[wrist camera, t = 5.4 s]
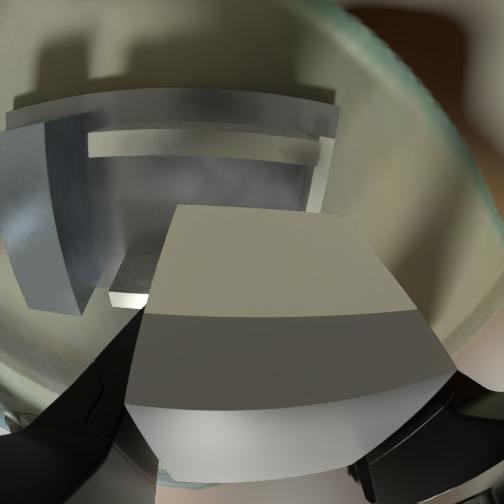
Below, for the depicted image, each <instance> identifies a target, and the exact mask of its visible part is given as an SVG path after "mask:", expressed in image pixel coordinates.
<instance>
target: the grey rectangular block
mask: <svg viewBox="0 0 504 504" xmlns="http://www.w3.org/2000/svg"><path fill="white" fill-rule="evenodd" d="M456 370H457V367H456V366H455V364H454V362H453V361H452V359H451V357H450V356H449V354H448V353H447V351H446V350H445V348H444V347H443V345H442V343H441V342H440V340H439V339H438V337H437V336H436V334H435V333H434V331H433V330H432V329H431V327H430V326H429V324H428V323H427V321H426V320H425V318H424V317H423V316H422V314H421V313H420V311H419V310H418V309H417V307H416V306H415V304H414V303H413V302H412V300H411V299H410V298H409V296H408V295H407V294H406V292H405V291H404V290H403V288H402V287H401V286H400V284H399V283H398V282H397V281H396V279H395V278H394V277H393V275H392V274H391V273H390V272H389V270H388V269H387V268H386V267H385V265H384V264H383V263H382V262H381V260H380V259H379V258H378V257H377V256H376V254H375V253H374V252H373V251H372V249H371V248H370V247H369V246H368V245H367V244H366V242H365V241H364V240H363V239H362V238H361V236H360V235H359V234H358V233H357V232H356V231H355V230H354V228H353V227H352V226H351V225H350V224H349V223H348V222H347V221H346V219H345V218H344V217H343V216H342V215H335V214H324V213H313V212H301V211H289V210H276V209H262V208H246V207H228V206H208V205H182V204H178V205H177V207H176V210H175V213H174V216H173V219H172V222H171V224H170V227H169V230H168V233H167V236H166V239H165V242H164V245H163V249H162V252H161V255H160V258H159V261H158V264H157V268H156V271H155V274H154V278H153V281H152V285H151V288H150V292H149V295H148V299H147V303H146V306H145V310H144V314H143V318H142V322H141V326H140V330H139V334H138V338H137V342H136V347H135V351H134V355H133V360H132V365H131V370H130V374H129V380H128V385H127V390H126V395H125V401H124V404H125V406H126V408H127V410H128V412H129V413H130V415H131V417H132V419H133V420H134V422H135V424H136V425H137V427H138V429H139V430H140V432H141V434H142V435H143V437H144V438H145V440H146V441H147V443H148V445H149V446H150V448H151V449H152V451H153V452H154V453H155V455H156V456H157V458H158V459H159V461H160V462H161V463H162V465H163V466H164V468H165V469H166V470H167V472H168V473H169V474H170V476H171V477H172V478H173V480H174V481H182V482H205V483H227V482H250V481H262V480H273V479H281V478H289V477H295V476H301V475H307V474H313V473H318V472H323V471H327V470H332V469H336V468H340V467H344V466H348V465H351V464H353V463H354V462H356V461H357V460H359V459H360V458H361V457H363V456H364V455H366V454H367V453H368V452H370V451H371V450H372V449H374V448H375V447H376V446H378V445H379V444H380V443H382V442H383V441H384V440H385V439H387V438H388V437H389V436H390V435H392V434H393V433H394V432H395V431H396V430H397V429H399V428H400V427H401V426H402V425H403V424H404V423H406V422H407V421H408V420H409V419H410V418H411V417H412V416H413V415H414V414H415V413H417V412H418V411H419V410H420V409H421V408H422V407H423V406H424V405H425V404H426V403H427V402H428V401H429V400H430V399H431V398H432V397H433V396H434V395H435V394H436V393H437V392H438V391H439V390H440V388H441V387H442V386H443V385H444V384H445V383H446V382H447V381H448V380H449V379H450V377H451V376H452V375H453V374H454V373H455V372H456Z"/></svg>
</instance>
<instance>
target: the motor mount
mask: <svg viewBox="0 0 504 504" xmlns="http://www.w3.org/2000/svg"><path fill="white" fill-rule="evenodd" d="M339 110H340V106H336V105H331V104H327V103H322V102H317V101H312V100H307V99H302V98H296V97H290V96H284V95H277V94H270V93H262V92H253V91H243V90H231V89H216V88H183V87H176V88H143V89H128V90H117V91H107V92H99V93H92V94H85V95H78V96H73V97H67V98H62V99H57V100H52V101H47V102H43V103H39V104H35V105H31V106H27V107H23V108H20V109H16V110H13V111H9V112H6V130H4V131H1V132H0V232H1V233H2V236H3V240H4V243H5V247H6V250H7V253H8V256H9V259H10V262H11V265H12V268H13V271H14V274H15V276H16V279H17V281H18V284H19V287H20V289H21V292H22V294H23V296H24V299H25V301H26V303H27V306H28V308H29V309H35V310H41V311H47V312H53V313H60V314H67V315H74V316H82V314H83V312H84V310H85V308H86V305H87V303H88V301H89V299H90V297H91V295H92V293H93V291H94V289H95V287H102V288H110V289H109V296H110V300H111V303H112V307H123V308H136V309H142V308H143V307H144V305H145V304H146V303H147V299H148V295H149V292H150V288H151V285H152V281H153V278H154V274H155V271H156V268H157V264H158V261H159V258H160V255H161V252H162V249H163V245H164V242H165V239H166V236H167V233H168V230H169V227H170V224H171V222H172V219H173V216H174V213H175V210H176V207H177V205H178V204H182V205H208V206H228V207H246V208H262V209H276V210H289V211H301V212H313V213H320V211H321V206H322V202H323V197H324V193H325V188H326V183H327V178H328V173H329V168H330V163H331V158H332V153H333V148H334V143H335V133H336V128H337V122H338V116H339Z"/></svg>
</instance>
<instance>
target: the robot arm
mask: <svg viewBox="0 0 504 504" xmlns="http://www.w3.org/2000/svg"><path fill="white" fill-rule="evenodd" d="M145 306H146V304H145V305H144V307H143V308H142V309H141V310H140V311H139V312H138V313H137V314H136V315H135V316H134V317H133V318H132V319H131V320H130V321H129V322H128V324H127V325H126V326H125V327H124V328H123V329H122V330H121V331H120V332H119V333H118V334H117V335H116V337H115V338H114V339H113V340H112V341H111V342H110V343H109V344H108V345H107V346H106V348H105V349H104V350H103V351H102V352H101V353H100V354H99V355H98V356H97V358H96V359H95V360H94V362H95V363H94V362H92V363H91V364H90V365H89V366H88V367H87V369H86V370H85V371H84V372H83V373H82V374H81V375H80V376H79V377H78V378H77V379H76V381H75V382H74V383H73V384H72V385H71V386H70V387H69V388H68V389H66V390H65V391H64V392H63V393H62V394H61V395H60V396H59V397H58V398H57V399H56V400H55V401H54V402H53V403H52V404H51V405H49V406H48V407H47V408H46V409H45V410H44V411H43V412H42V413H41V414H40V415H39V416H38V417H37V418H35V419H34V420H33V421H32V422H31V423H30V424H29V425H27V426H26V427H24V428H23V429H21V430H19V431H17V432H14V433H10V434H6V435H1V436H0V504H155V492H156V481H157V471H158V462H159V459H158V458H157V456H156V455H155V453H154V452H153V451H152V449H151V448H150V446H149V445H148V443H147V441H146V440H145V438H144V437H143V435H142V434H141V432H140V430H139V429H138V427H137V425H136V424H135V422H134V420H133V419H132V417H131V415H130V413H129V412H128V410H127V408H126V406H125V404H124V401H125V395H126V390H127V385H128V380H129V374H130V370H131V365H132V360H133V355H134V351H135V347H136V342H137V338H138V334H139V330H140V326H141V322H142V318H143V314H144V310H145ZM347 473H348V475H349V476H351V477H353V479H354V480H355V482H356V483H357V484H358V485H360V484H361V485H362V489H363V491H364V495H365V498H366V499H367V500H368V501H369V502H370V503H371V504H504V392H495V391H491V390H489V389H486V388H485V387H483V386H482V385H480V384H478V383H477V382H475V381H474V380H472V379H471V378H469V377H468V376H466V375H465V374H463V373H462V372H460V371H459V370H456V372H455V373H454V374H453V375H452V376H451V377H450V379H449V380H448V381H447V382H446V383H445V384H444V385H443V386H442V387H441V388H440V390H439V391H438V392H437V393H436V394H435V395H434V396H433V397H432V398H431V399H430V400H429V401H428V402H427V403H426V404H425V405H424V406H423V407H422V408H421V409H420V410H419V411H418V412H417V413H415V414H414V415H413V416H412V417H411V418H410V419H409V420H408V421H407V422H406V423H404V424H403V425H402V426H401V427H400V428H399V429H397V430H396V431H395V432H394V433H393V434H392V435H390V436H389V437H388V438H387V439H385V440H384V441H383V442H382V443H380V444H379V445H378V446H376V447H375V448H374V449H372V450H371V451H370V452H368V453H367V454H366V455H364V456H363V457H361V458H360V459H359V460H357V461H356V462H354V463H353V464H351V465H348V466H347Z"/></svg>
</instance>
